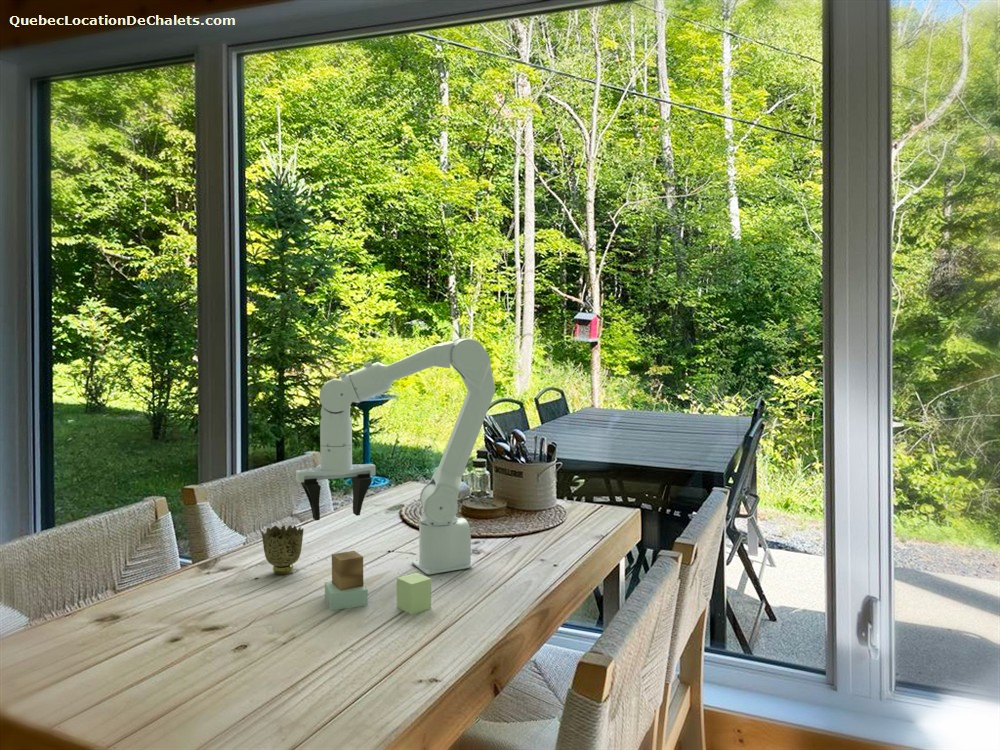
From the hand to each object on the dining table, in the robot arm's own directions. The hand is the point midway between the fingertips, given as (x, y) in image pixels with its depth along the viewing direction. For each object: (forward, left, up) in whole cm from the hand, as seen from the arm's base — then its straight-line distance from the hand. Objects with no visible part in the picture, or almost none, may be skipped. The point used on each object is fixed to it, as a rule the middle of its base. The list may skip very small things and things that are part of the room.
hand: (336, 516), depth 142 cm
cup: (+9, -4, -11) cm, 14 cm away
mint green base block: (+3, +15, -11) cm, 19 cm away
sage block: (-6, +23, -10) cm, 26 cm away
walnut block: (+3, +15, -8) cm, 17 cm away
